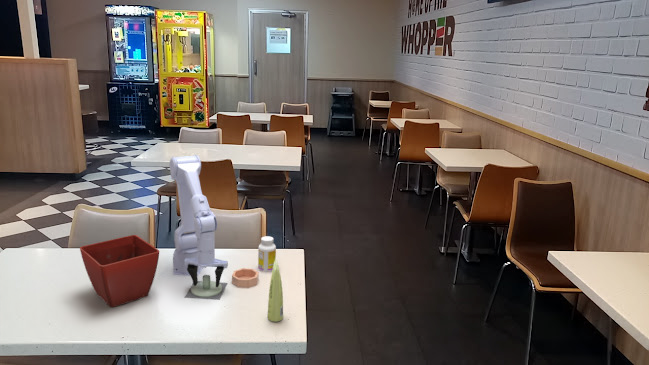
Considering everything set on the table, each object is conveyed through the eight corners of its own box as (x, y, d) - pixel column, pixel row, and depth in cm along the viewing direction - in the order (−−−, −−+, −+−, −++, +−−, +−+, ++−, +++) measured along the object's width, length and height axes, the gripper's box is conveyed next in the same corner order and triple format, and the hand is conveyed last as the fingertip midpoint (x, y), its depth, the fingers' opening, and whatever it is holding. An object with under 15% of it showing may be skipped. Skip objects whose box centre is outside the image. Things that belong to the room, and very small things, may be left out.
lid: (187, 296, 166) (186, 282, 164) (196, 282, 176) (195, 268, 174) (217, 298, 166) (217, 284, 164) (224, 283, 176) (224, 270, 174)
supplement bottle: (277, 266, 193) (277, 235, 189) (273, 273, 186) (274, 242, 183) (260, 264, 193) (260, 234, 190) (256, 272, 187) (256, 241, 183)
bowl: (230, 287, 174) (230, 278, 173) (235, 276, 183) (235, 267, 182) (255, 289, 174) (255, 280, 173) (259, 277, 182) (259, 269, 182)
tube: (262, 317, 157) (263, 261, 151) (274, 311, 160) (275, 256, 155) (275, 324, 153) (276, 267, 148) (286, 318, 157) (288, 262, 152)
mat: (184, 298, 165) (184, 297, 165) (194, 282, 177) (194, 280, 177) (219, 301, 165) (219, 299, 165) (227, 284, 177) (227, 282, 176)
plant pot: (137, 276, 179) (135, 233, 174) (162, 296, 166) (160, 250, 161) (82, 292, 166) (78, 246, 161) (105, 316, 153) (101, 266, 148)
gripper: (181, 252, 163) (182, 289, 167) (224, 255, 162) (224, 292, 166) (187, 244, 170) (188, 279, 173) (229, 246, 169) (229, 282, 173)
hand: (206, 285), depth 170 cm, fingers open, 7 cm apart
